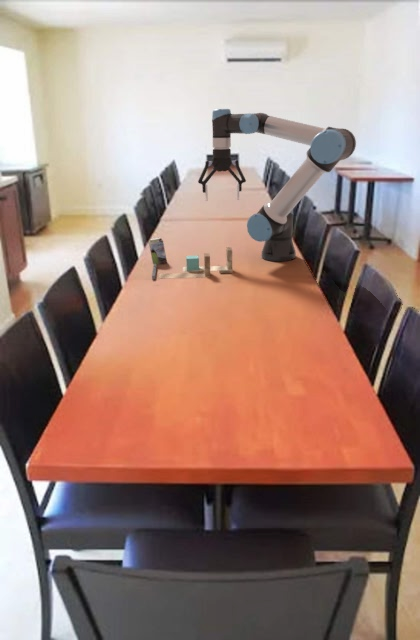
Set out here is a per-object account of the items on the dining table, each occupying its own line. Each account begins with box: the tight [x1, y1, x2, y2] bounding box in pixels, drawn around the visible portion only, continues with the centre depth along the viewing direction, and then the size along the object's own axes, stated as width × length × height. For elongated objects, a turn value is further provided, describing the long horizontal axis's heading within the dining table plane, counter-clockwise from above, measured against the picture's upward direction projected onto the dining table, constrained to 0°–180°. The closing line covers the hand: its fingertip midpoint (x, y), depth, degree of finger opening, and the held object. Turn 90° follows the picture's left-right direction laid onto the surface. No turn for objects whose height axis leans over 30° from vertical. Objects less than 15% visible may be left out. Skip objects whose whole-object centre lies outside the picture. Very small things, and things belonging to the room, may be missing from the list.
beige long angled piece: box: [182, 246, 233, 274], centre depth 230 cm, size 20×7×9 cm, turn 93°
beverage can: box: [148, 236, 168, 266], centre depth 240 cm, size 6×7×12 cm
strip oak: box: [158, 252, 211, 280], centre depth 221 cm, size 20×7×9 cm, turn 93°
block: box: [185, 254, 200, 272], centre depth 230 cm, size 5×5×5 cm
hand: (222, 199), depth 243 cm, fingers open, 13 cm apart
